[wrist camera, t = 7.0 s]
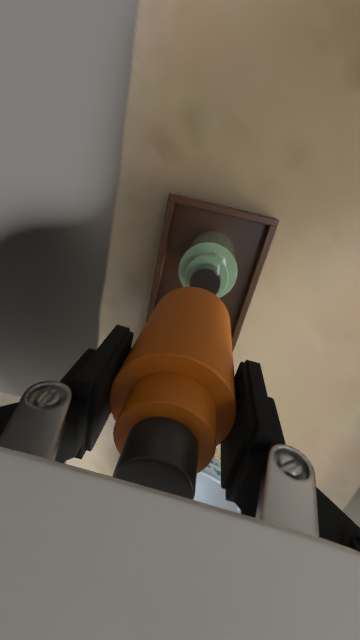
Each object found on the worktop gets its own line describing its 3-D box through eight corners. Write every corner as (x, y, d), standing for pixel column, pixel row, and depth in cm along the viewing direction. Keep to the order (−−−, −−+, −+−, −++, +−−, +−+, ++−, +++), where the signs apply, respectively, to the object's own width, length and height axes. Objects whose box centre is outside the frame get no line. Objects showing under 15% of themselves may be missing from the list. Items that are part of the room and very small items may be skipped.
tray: (172, 193, 27) (169, 193, 26) (275, 218, 27) (279, 220, 25) (136, 392, 38) (131, 402, 37) (209, 411, 38) (208, 422, 36)
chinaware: (190, 400, 38) (183, 448, 31) (258, 468, 41) (265, 524, 34) (117, 445, 43) (96, 494, 36) (181, 501, 47) (174, 556, 40)
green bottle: (194, 225, 28) (179, 242, 18) (240, 236, 28) (248, 259, 18) (184, 269, 30) (166, 305, 20) (227, 280, 30) (228, 321, 20)
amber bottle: (161, 277, 16) (73, 398, 6) (240, 298, 16) (271, 452, 6) (147, 345, 18) (63, 517, 8) (217, 364, 18) (214, 561, 8)
